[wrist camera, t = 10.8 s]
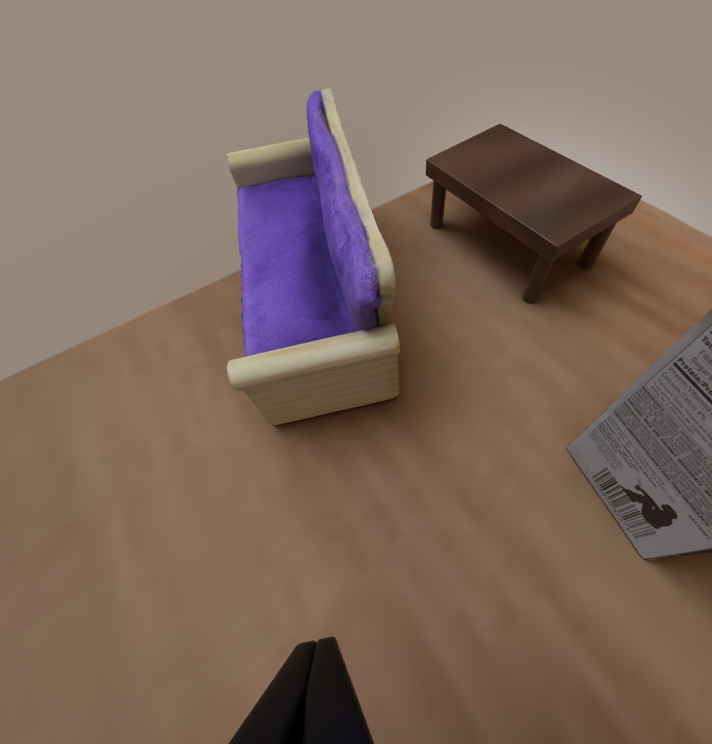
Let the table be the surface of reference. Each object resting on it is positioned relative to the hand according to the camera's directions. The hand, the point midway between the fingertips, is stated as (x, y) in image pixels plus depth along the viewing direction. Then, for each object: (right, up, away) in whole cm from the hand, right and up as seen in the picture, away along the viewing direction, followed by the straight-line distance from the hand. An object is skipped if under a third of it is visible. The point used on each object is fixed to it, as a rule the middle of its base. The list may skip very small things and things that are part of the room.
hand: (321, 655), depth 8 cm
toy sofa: (-2, +12, +21) cm, 24 cm away
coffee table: (+12, +16, +21) cm, 30 cm away
